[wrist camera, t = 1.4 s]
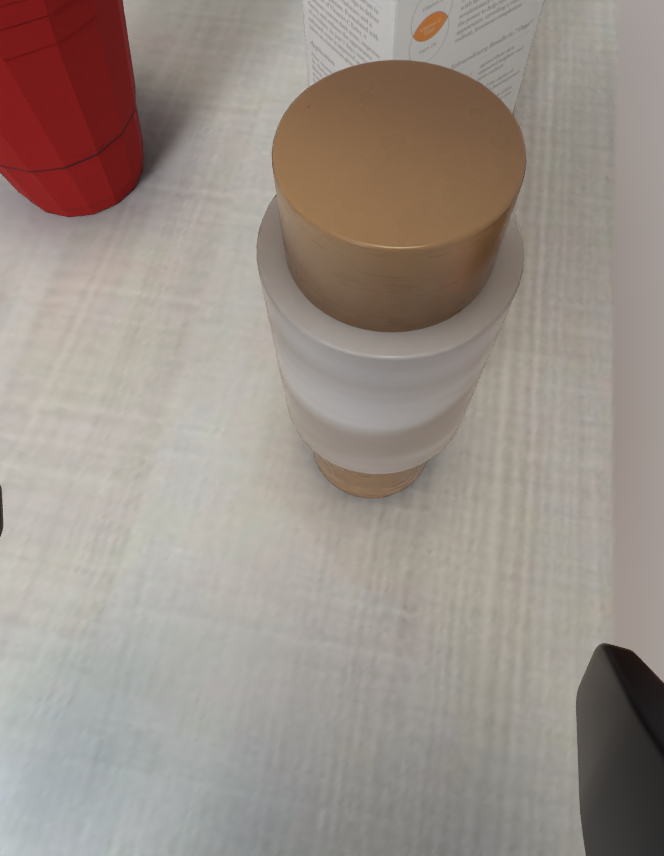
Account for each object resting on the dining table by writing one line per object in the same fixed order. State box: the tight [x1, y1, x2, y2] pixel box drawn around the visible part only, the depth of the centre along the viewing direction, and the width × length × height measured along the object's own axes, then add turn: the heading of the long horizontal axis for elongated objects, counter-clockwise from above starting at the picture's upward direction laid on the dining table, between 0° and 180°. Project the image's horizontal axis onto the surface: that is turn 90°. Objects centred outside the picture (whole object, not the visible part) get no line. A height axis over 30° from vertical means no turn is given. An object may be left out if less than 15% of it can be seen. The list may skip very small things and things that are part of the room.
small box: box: [302, 0, 545, 114], centre depth 25 cm, size 8×6×10 cm
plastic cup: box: [0, 0, 143, 217], centre depth 24 cm, size 11×11×12 cm
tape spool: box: [257, 60, 526, 498], centre depth 17 cm, size 6×6×14 cm
